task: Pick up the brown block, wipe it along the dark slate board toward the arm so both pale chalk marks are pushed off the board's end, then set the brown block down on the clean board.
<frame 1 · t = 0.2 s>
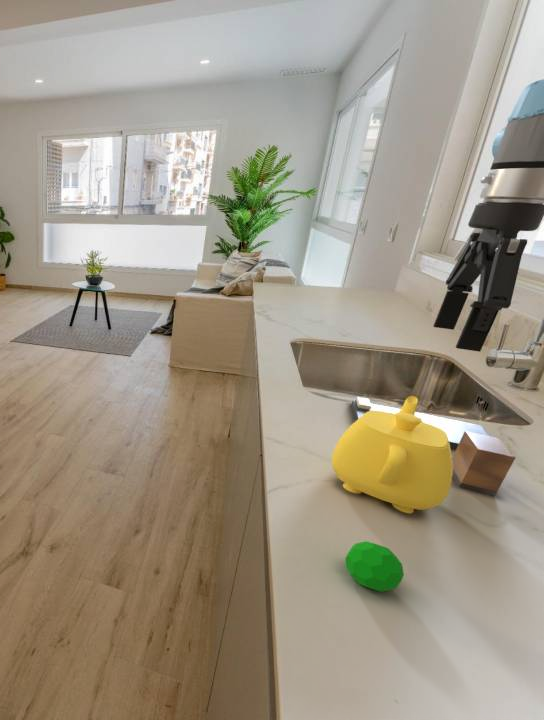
hand: (454, 338, 71), 19 cm above the worktop, tool pointing down, fingers open, 13 cm apart
chalk mark a: (362, 404, 86), point 1 cm above the worktop, touching slate board
slate board: (417, 430, 80), on the worktop
teapot: (379, 487, 64), on the worktop
chalk mark b: (427, 426, 79), point 1 cm above the worktop, touching slate board
polyhedron: (366, 583, 48), on the worktop
brown block: (469, 482, 65), on the worktop
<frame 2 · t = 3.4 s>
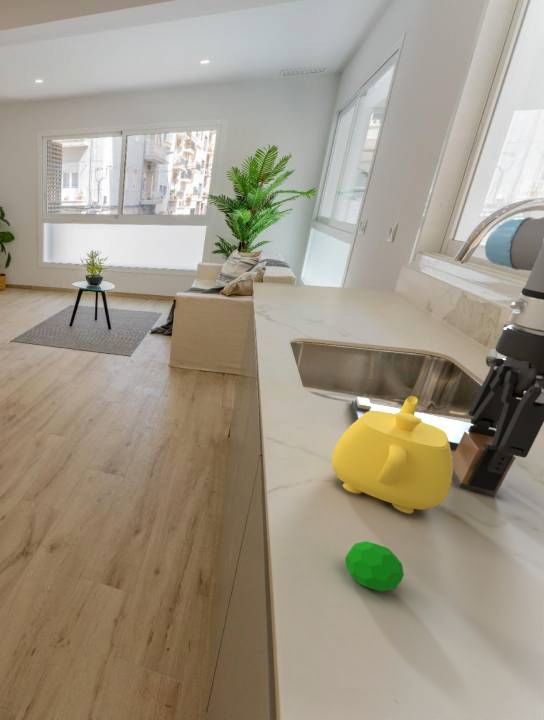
hand: (473, 474, 65), 1 cm above the worktop, tool pointing down, fingers closed on brown block, 6 cm apart
brown block: (469, 482, 65), on the worktop, touching gripper
everything else where it was.
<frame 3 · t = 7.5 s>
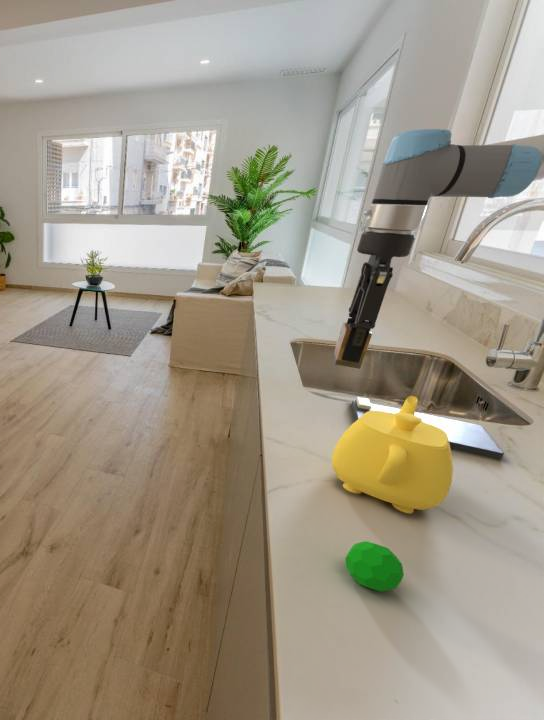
hand: (348, 355, 83), 12 cm above the worktop, tool pointing down, fingers closed on brown block, 6 cm apart
brown block: (345, 361, 83), point 11 cm above the worktop, touching gripper
everything else where it was.
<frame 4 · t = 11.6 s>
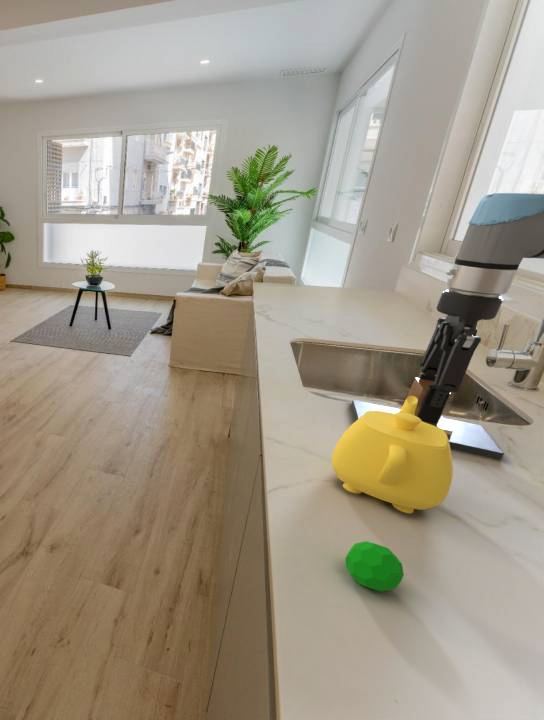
hand: (422, 413, 80), 3 cm above the worktop, tool pointing down, fingers closed on brown block, 6 cm apart
chalk mark a: (434, 419, 81), point 2 cm above the worktop, touching brown block
chalk mark b: (440, 428, 78), point 2 cm above the worktop, touching slate board
brown block: (417, 418, 81), point 2 cm above the worktop, touching chalk mark a, gripper
everything else where it was.
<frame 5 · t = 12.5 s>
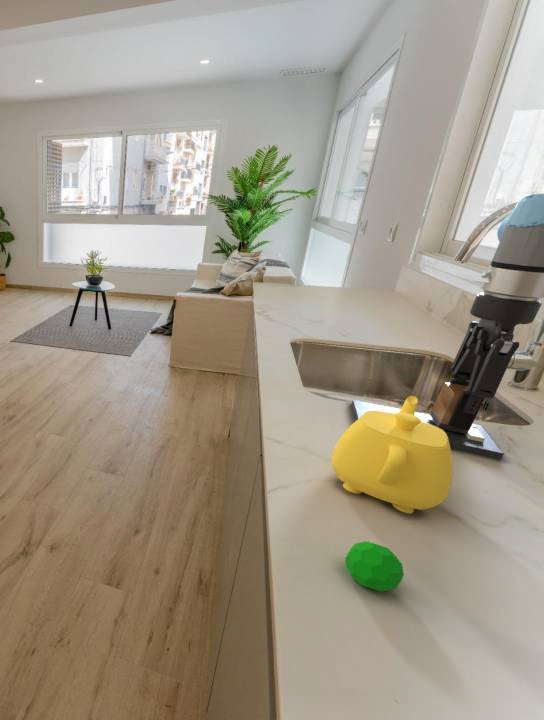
hand: (452, 419, 78), 3 cm above the worktop, tool pointing down, fingers closed on brown block, 6 cm apart
chalk mark a: (464, 425, 79), point 2 cm above the worktop, touching brown block
chalk mark b: (471, 435, 76), point 1 cm above the worktop, touching slate board
brown block: (447, 424, 79), point 2 cm above the worktop, touching chalk mark a, gripper
everything else where it was.
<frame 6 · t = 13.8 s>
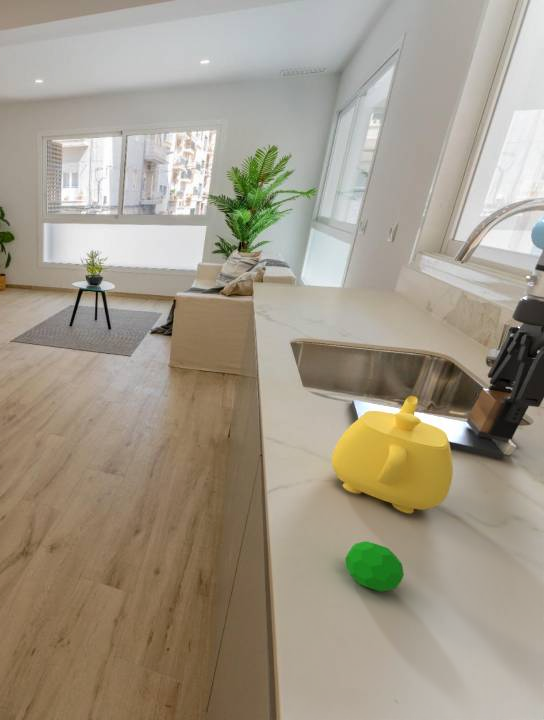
hand: (492, 427, 76), 3 cm above the worktop, tool pointing down, fingers closed on brown block, 6 cm apart
chalk mark a: (502, 437, 77), point 1 cm above the worktop, tilted 180°
chalk mark b: (502, 444, 74), point 1 cm above the worktop, tilted 103°, touching brown block
brown block: (486, 431, 76), point 2 cm above the worktop, touching chalk mark b, gripper
everything else where it was.
when the fingers open (3 cm above the worktop, at t = 19.3 s): brown block stays where it is, resting on slate board.
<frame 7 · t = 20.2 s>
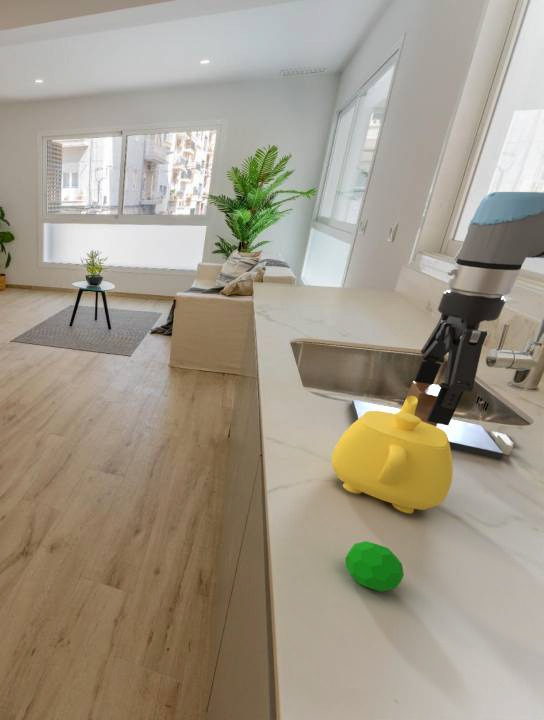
hand: (427, 407, 78), 5 cm above the worktop, tool pointing down, fingers open, 13 cm apart
chalk mark b: (500, 444, 74), point 1 cm above the worktop, tilted 90°
brown block: (416, 422, 80), point 1 cm above the worktop, touching slate board
everything else where it was.
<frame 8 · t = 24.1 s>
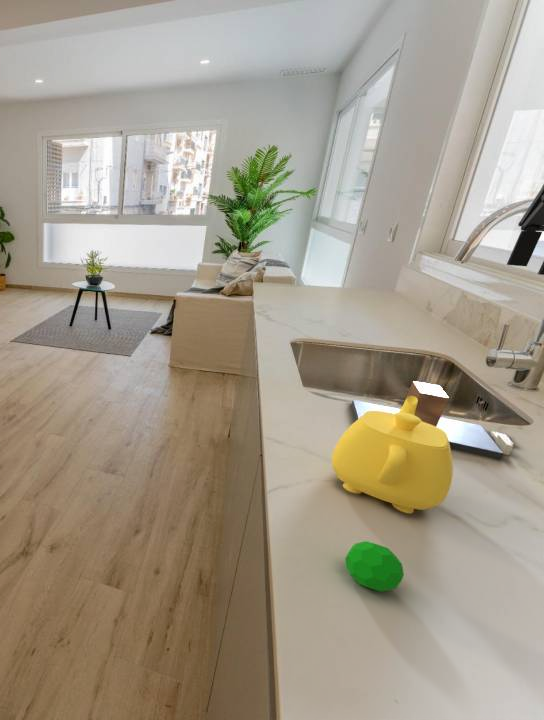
hand: (531, 270, 79), 29 cm above the worktop, tool pointing down, fingers open, 13 cm apart
nothing on the worktop moved.
at the end: chalk mark a inside the target area (4.4 cm from its centre), point 0.7 cm above the worktop; chalk mark b inside the target area (5.4 cm from its centre), point 1.0 cm above the worktop; brown block inside the target area (0.1 cm from its centre), point 1.5 cm above the worktop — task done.
